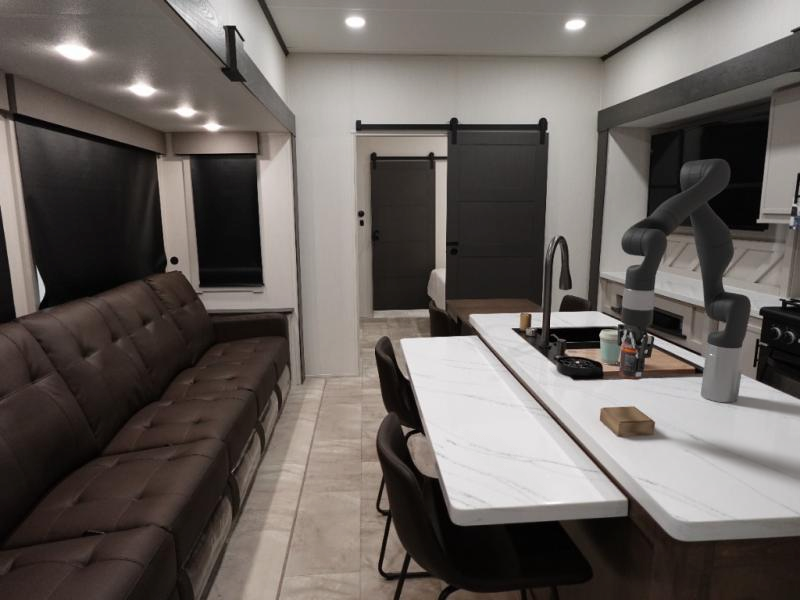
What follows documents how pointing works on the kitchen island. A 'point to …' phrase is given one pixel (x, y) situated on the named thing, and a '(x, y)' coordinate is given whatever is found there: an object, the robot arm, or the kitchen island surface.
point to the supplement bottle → (629, 361)
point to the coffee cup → (609, 346)
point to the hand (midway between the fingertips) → (631, 367)
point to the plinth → (627, 421)
